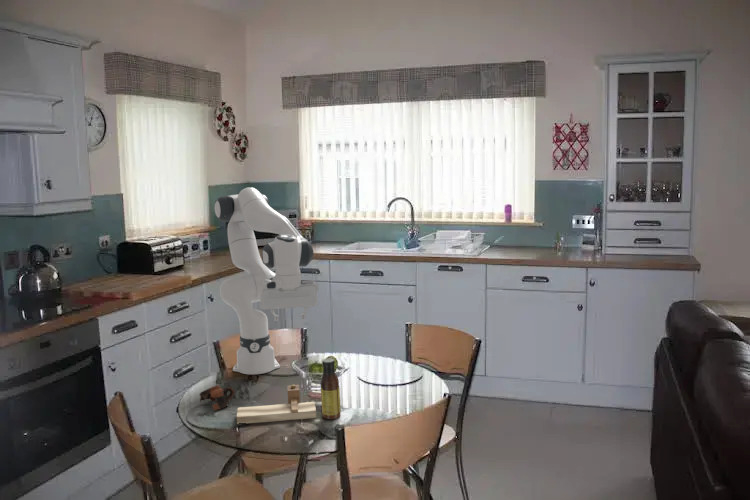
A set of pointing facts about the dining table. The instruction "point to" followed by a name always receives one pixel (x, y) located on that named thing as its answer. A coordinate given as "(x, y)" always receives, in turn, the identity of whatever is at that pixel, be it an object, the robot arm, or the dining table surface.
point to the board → (275, 413)
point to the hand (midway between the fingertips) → (290, 319)
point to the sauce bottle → (330, 390)
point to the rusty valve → (217, 396)
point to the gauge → (293, 397)
